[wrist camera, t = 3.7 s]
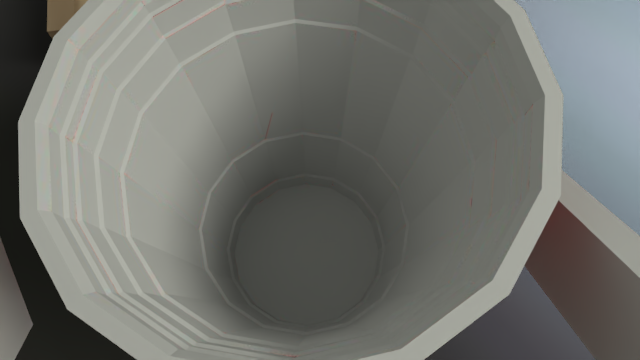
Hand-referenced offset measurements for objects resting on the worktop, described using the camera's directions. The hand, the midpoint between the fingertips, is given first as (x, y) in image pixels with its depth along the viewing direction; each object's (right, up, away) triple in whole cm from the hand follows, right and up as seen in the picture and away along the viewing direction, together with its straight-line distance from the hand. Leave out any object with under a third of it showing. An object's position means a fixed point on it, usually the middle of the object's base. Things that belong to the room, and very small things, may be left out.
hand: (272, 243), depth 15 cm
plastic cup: (+1, -1, +8) cm, 8 cm away
